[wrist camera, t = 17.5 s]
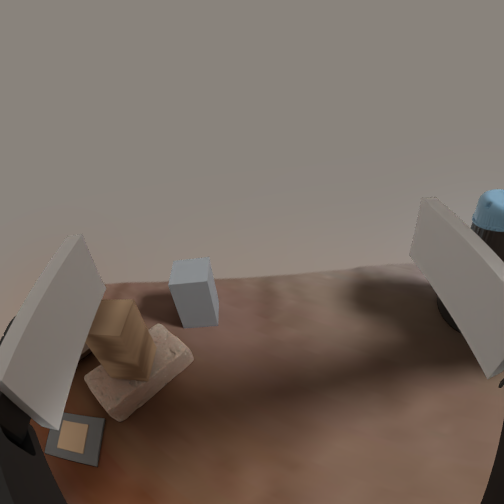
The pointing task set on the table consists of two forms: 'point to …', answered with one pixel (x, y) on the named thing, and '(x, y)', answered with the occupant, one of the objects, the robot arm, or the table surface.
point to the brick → (139, 392)
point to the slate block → (194, 292)
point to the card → (77, 439)
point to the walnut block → (122, 340)
